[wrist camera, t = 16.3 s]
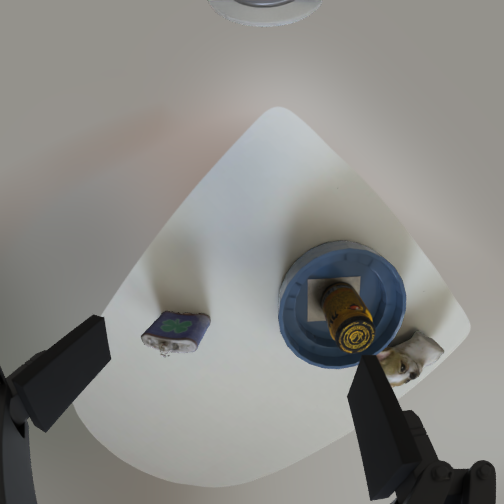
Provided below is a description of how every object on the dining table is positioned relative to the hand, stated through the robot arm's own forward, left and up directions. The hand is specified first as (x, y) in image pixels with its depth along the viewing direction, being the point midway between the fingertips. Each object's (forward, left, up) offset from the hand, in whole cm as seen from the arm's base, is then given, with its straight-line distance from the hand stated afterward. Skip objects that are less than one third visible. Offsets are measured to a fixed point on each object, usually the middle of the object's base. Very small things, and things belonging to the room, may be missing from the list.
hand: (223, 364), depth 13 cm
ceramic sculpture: (+18, +27, -31) cm, 45 cm away
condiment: (+8, +12, -30) cm, 34 cm away
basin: (+8, +13, -31) cm, 34 cm away
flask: (+15, -12, -31) cm, 36 cm away
